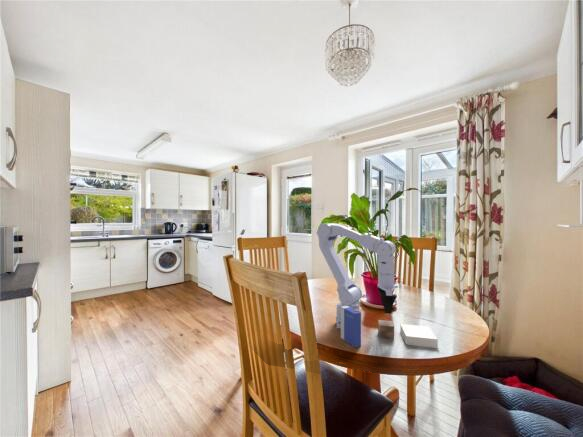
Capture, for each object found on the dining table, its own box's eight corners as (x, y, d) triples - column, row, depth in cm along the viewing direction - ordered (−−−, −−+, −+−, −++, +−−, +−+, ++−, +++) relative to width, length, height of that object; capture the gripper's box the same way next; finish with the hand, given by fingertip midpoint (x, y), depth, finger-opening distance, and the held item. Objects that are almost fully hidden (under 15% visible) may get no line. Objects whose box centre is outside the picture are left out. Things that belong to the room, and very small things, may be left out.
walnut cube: (379, 338, 91) (379, 325, 91) (378, 332, 95) (378, 319, 95) (394, 340, 89) (394, 326, 89) (391, 334, 94) (391, 321, 94)
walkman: (361, 345, 85) (361, 311, 85) (354, 347, 84) (354, 312, 84) (346, 336, 92) (346, 304, 92) (340, 337, 91) (340, 305, 91)
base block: (406, 344, 86) (406, 336, 86) (400, 331, 96) (400, 324, 96) (437, 348, 84) (437, 339, 84) (428, 334, 94) (428, 326, 94)
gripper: (401, 278, 84) (401, 317, 84) (394, 269, 98) (394, 303, 98) (379, 277, 86) (380, 315, 86) (375, 268, 100) (376, 302, 100)
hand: (386, 309), depth 92 cm, fingers open, 7 cm apart
